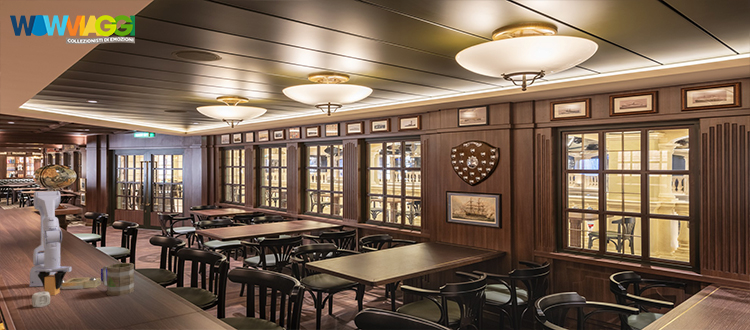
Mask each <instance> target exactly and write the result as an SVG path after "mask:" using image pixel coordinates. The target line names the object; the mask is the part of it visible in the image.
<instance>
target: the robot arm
mask: <svg viewBox="0 0 750 330" xmlns="http://www.w3.org/2000/svg"><path fill="white" fill-rule="evenodd" d="M60 204H61V192H60V191H59V190H54V191H51V190H50V191H34V192H33V207H34V210H38V212H39V214H40V244H39V245H38V246H37V247H35V248H34V249H33V254H32V260H33V261H32V263H33V266H32V267H31V268H30V271H29V285H28V287H30V288H31V287H43V289H44V290H45V277H46V276H49V275H55V280H56V289H59V288H60V286H61V282H62V280H64V277H65V275H66V273H70V272H72V266H66V265H63V266H62V265H61V243H62V241H63V232H62V229H61V227H60V222H59V218H58V217H56V215H55V214H56V212H55V211H56V210H57V209H58V208H59V205H60Z"/></svg>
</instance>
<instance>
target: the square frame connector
mask: <svg viewBox="0 0 750 330" xmlns="http://www.w3.org/2000/svg"><path fill="white" fill-rule="evenodd" d="M100 285H102V281H101V277H89V276H88V277H72V278H69V279H67V280H65V279H63V280H62V282H61V286H60V290H83V289H94V288H95V289H96V288H97V287H99V286H100Z"/></svg>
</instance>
